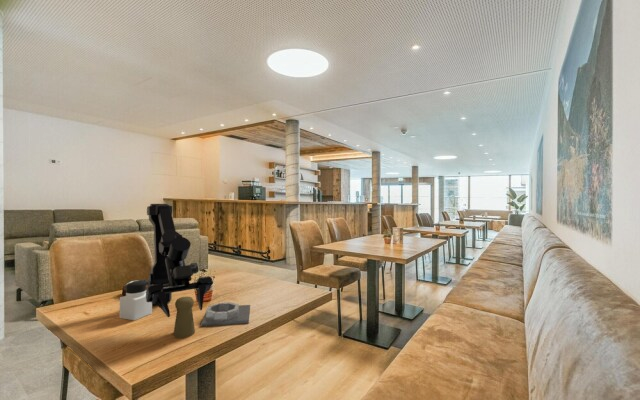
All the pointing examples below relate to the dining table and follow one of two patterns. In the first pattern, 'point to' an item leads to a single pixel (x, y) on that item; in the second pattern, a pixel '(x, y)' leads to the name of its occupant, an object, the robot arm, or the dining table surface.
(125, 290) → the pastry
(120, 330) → the dining table surface
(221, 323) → the socket block
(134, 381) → the dining table surface
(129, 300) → the medicine bottle
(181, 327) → the cork
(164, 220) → the robot arm
